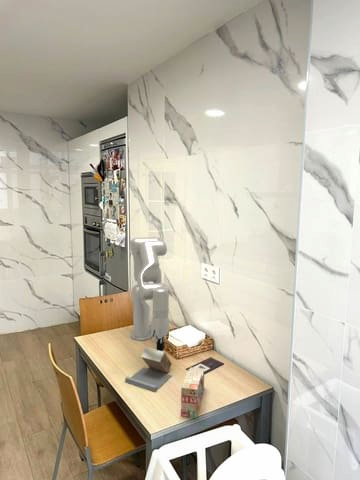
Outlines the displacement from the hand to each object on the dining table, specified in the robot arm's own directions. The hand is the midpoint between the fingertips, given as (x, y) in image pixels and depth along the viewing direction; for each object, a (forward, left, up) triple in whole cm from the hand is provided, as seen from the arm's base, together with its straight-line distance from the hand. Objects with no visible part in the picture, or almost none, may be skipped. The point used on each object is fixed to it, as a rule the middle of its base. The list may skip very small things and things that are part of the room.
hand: (160, 349), depth 166 cm
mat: (+9, 0, -10) cm, 13 cm away
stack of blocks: (+15, +25, -11) cm, 31 cm away
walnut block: (-1, 0, -9) cm, 9 cm away
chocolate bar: (-13, +18, -11) cm, 25 cm away
